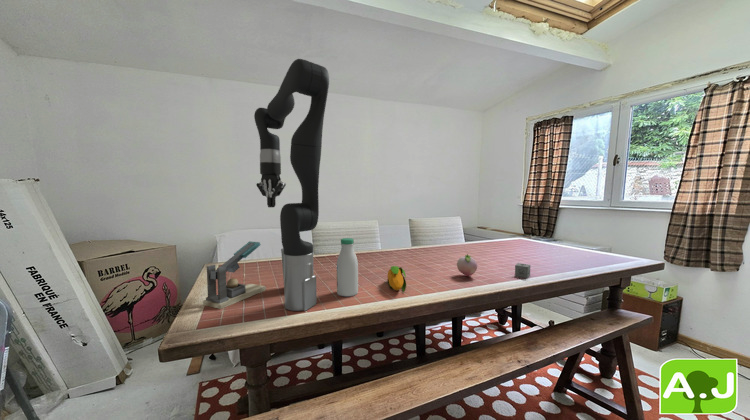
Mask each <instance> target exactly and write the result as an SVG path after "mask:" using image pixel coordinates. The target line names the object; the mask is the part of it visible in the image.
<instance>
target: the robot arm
mask: <svg viewBox="0 0 750 420" xmlns="http://www.w3.org/2000/svg"><path fill="white" fill-rule="evenodd" d="M329 85H330V74H329V71H328V69H327V68H326V67H324V66H322V65H320V64H317V63H315V62H312V61H308V60H306V59H303V58H297V59H295V60H294V61H292V63H291V65H290V66H289V68H288V70H287V72H286V73H285V75H284V77H283V80H282V82H281V83H280V86H279V88H278V91H277V93H276V95H274V97H273V98H272V99H271V100H270V102H269V103H268V105H267V106H266V108H265V107H258V108H257V109H256V110H255V111H254V116H253V117H254V123H255V126H256V129H257V132H258V137H259V142H260V143H259V144H260V145H259V147H260V148H259V149H260V151H259V174H261V179H260V181H259V183H255V184H256V187H257V189H258V190H259V192H260V194H261V195H262V196H264V197H266V201H267V202H266V203H267V207H268V208H275V207H276V205H277V204H276V198H277V197H279V196H280V195H281V194H282V192H283V191H284V189H285V188H286V185H287V183H286V182H283V181H282V178H281V176H280V175H282V169H281V168H282V167H281V165H282V159H281V158H282V157H281V146H280V145H281V144H280V143H281V142H280V137H279V135H277V134H275V133H271V132H270V131H269V129H271V130H280V129H282V128H283V127H284V124H285V122H286V121H285V120H286V118H287V117H288V116H289V115H290V114H291V113H292V112H293V110H294V108H295V104H296V103H295V97H294V93H297V94H302V95H304V96H308V97H311V100H310V104H309V109H308V112H307V115H306V116H305V118H304V119H303V121H302V122H301V123H300V125H298V127H297V128H296V129H295V131H294V132H293V134H292V137H291V139H290V140H291V141H290V155H289V158H290V159H289V161H290V164H291V166H292V169H293V171H294V173H295V176H296V177H297V179H298V182H299V184H300V187H301V202H292V203H291V202H290V203H286V204H283V206H282V207H281V210H280V216H279V217H280V218H279V221H280V233H281V238H280V239H281V246H282V248H283V250H284V279H283V292H284V295H283V296H284V309H286V310H288V311H294V312H296V311H297V312H299V311H304V312H305V311H307V310H309V309H310V308H312V307H314V306H316V305H317V276H316V274H314V245H313V243H312V242H309V241H305V240H303V239H302V238H301V233H302V232H308V231H309V232H310V231H312V230H314V229H316V227H317V225H318V222H319V213H320V211H319V209H320V208H319V207H320V205H319V204H320V203H319V185H320V184H319V183H320V180H319V179H320V167H321V158H322V157H321V156H322V141H323V128H324V120H325V119H324V118H325V114H326V113H325V112H326V106H327V100H328V94H329V87H330V86H329ZM300 232H301V233H300Z"/></svg>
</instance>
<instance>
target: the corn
mask: <svg viewBox="0 0 750 420" xmlns="http://www.w3.org/2000/svg"><path fill="white" fill-rule="evenodd" d="M403 275H404V276H403ZM406 277H407V275H406V271H405V270H404V269H403V267H399V266H397V265H391V266H390V269H389V270H388V272H387V285H388V287H389V289H390V290H394V291H399V290H401V291H402V292H405V291H406V288H407V281H406Z"/></svg>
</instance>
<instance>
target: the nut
mask: <svg viewBox="0 0 750 420" xmlns="http://www.w3.org/2000/svg"><path fill="white" fill-rule="evenodd" d="M238 284H239V280H238V279H237V278H235V277H232V278H229V279H228V280H227V281H226V285H227V287H228V288H230V289H233V288H236V287H237V286H238Z"/></svg>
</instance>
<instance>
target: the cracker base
mask: <svg viewBox="0 0 750 420" xmlns="http://www.w3.org/2000/svg"><path fill="white" fill-rule="evenodd" d="M215 270H217V279H216V280H215V279H210V276H211V271H215ZM206 280H207V282H206V284H207V285H206V286H207V297H205V299H204V300H202V305H203V306H206V307H210V308H215V309H219V310H223V309H224V308H226V307H229V306H232V305H234V304H236V303H238V302H241V301H244V300H245V299H249V298H250V297H252V296H255V295H258V294H260V293H263V292H265V291H266V290H267V289H266V287H267V286H265V285H260V284H255V283H247V284H245V283H244V284H243V283H238V286H237V287H236V288H233V289H230V288H228V287H227V272H226V266H223V267H220V266H219V267H216V264H210V265H208V266H206Z"/></svg>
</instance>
